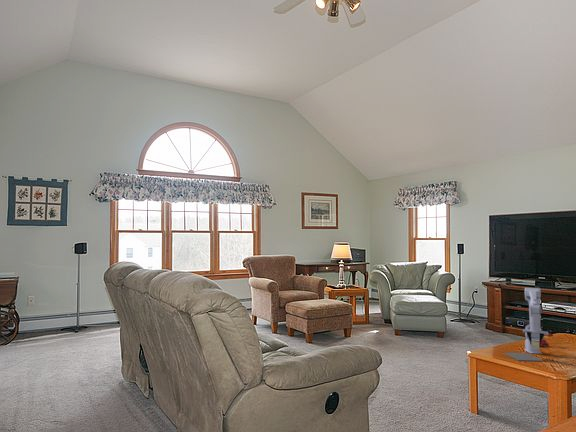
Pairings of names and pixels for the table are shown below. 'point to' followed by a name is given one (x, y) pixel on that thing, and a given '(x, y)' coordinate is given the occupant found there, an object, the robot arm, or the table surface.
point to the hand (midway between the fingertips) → (535, 344)
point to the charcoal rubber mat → (523, 357)
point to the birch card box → (535, 344)
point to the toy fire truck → (544, 342)
